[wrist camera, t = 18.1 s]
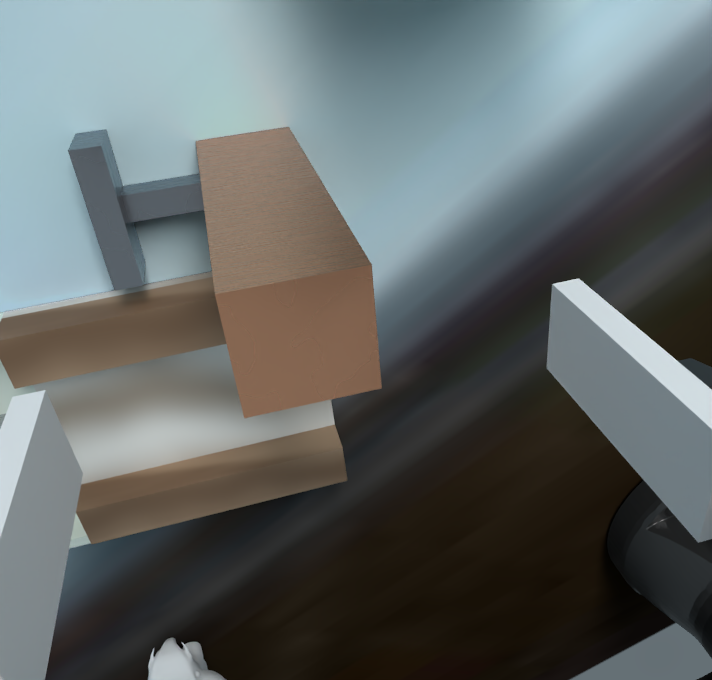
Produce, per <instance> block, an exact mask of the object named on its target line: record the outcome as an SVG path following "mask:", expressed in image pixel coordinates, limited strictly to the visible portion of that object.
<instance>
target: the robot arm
mask: <svg viewBox="0 0 712 680" xmlns="http://www.w3.org/2000/svg"><path fill="white" fill-rule="evenodd" d="M547 369H548V370H549V371H550V372H551V374H552V375H553V376H554V377H555V378H556V379H557V380H558V382H559V383H560V384H561V385H562V386H563V387H564V389H565V390H566V391H567V392H568V393H569V394H570V395H571V397H572V398H573V399H574V400H575V401H576V402H577V404H578V405H579V406H580V407H581V408H582V409H583V410H584V412H585V413H586V414H587V415H588V416H589V417H590V419H591V420H592V421H593V422H594V423H595V424H596V425H597V427H598V428H599V429H600V430H601V431H602V432H603V434H604V435H605V436H606V437H607V438H608V439H609V440H610V442H611V443H612V444H613V445H614V446H615V447H616V448H617V450H618V451H619V452H620V453H621V454H622V455H623V457H624V458H625V459H626V460H627V461H628V462H629V463H630V465H631V466H632V467H633V468H634V469H635V470H636V472H637V473H638V474H639V475H640V476H641V477H642V478H643V481H642V482H641V483H640V484H639V485H638V486H637V487H636V488H635V489H634V490H633V491H632V493H631V494H630V495H629V496H628V497H627V499H626V500H625V501H624V503H623V504H622V505H621V507H620V508H619V510H618V512H617V513H616V515H615V517H614V519H613V521H612V524H611V526H610V530H609V533H608V539H607V548H608V554H609V556H610V559H611V561H612V562H613V564H614V565H615V566H616V568H617V569H618V571H619V572H620V573H621V575H622V576H623V578H624V579H625V581H626V582H627V583H628V584H629V585H630V586H631V587H632V588H633V589H634V590H635V591H636V592H638V593H639V594H640V595H643V596H644V597H645V598H646V599H647V600H648V601H650V602H651V603H652V604H653V605H655V606H656V607H657V608H658V609H660V610H661V611H662V612H663V613H665V614H666V615H667V616H668V617H670V618H671V619H672V620H674V621H675V622H676V623H677V624H679V625H680V626H681V627H683V628H684V629H685V630H687V631H688V632H689V633H691V634H692V635H693V636H694V637H695V638H696V639H697V640H698V641H699V642H700V643H701V644H702V646H703V647H704V648H705V650H706V651H707V652H708V654H709V655H710V657H711V658H712V367H710V366H707V365H705V364H703V363H701V362H698V361H696V360H694V359H691V358H689V359H685V360H681V361H677V360H676V359H674V358H673V357H672V356H671V355H670V354H668V353H667V352H666V351H665V350H664V349H662V348H661V347H660V346H659V345H658V344H656V343H655V342H654V341H653V340H652V339H650V338H649V337H648V336H647V335H646V334H644V333H643V332H642V331H641V330H640V329H638V328H637V327H636V326H635V325H634V324H632V323H631V322H630V321H629V320H628V319H626V318H625V317H624V316H623V315H622V314H620V313H619V312H618V311H617V310H616V309H615V308H613V307H612V306H611V305H610V304H609V303H607V302H606V301H605V300H604V299H603V298H601V297H600V296H599V295H598V294H597V293H595V292H594V291H593V290H592V289H591V288H589V287H588V286H587V285H586V284H585V283H583V282H582V281H581V280H580V279H574V280H569V281H565V282H560V283H555V284H552V296H551V311H550V325H549V340H548V355H547ZM82 477H83V472H82V470H81V468H80V466H79V463H78V461H77V459H76V457H75V454H74V452H73V450H72V448H71V446H70V443H69V441H68V439H67V437H66V434H65V432H64V430H63V428H62V426H61V423H60V421H59V419H58V417H57V414H56V412H55V410H54V408H53V406H52V403H51V401H50V399H49V397H48V394H47V392H46V390H43V391H38V392H34V393H29V394H24V395H19V396H14V397H12V399H11V402H10V404H9V407H8V410H7V412H6V415H5V418H4V421H3V423H2V426H1V429H0V680H45V676H46V671H47V665H48V660H49V654H50V649H51V644H52V638H53V633H54V628H55V622H56V617H57V611H58V606H59V601H60V595H61V590H62V584H63V579H64V574H65V568H66V563H67V558H68V552H69V547H70V541H71V536H72V531H73V525H74V520H75V514H76V509H77V504H78V498H79V493H80V488H81V482H82ZM697 680H712V672H711V673H709V674H707V675H705V676H704V677H702V678H699V679H697Z"/></svg>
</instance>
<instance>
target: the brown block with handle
mask: <svg viewBox="0 0 712 680" xmlns="http://www.w3.org/2000/svg"><path fill="white" fill-rule="evenodd" d="M196 148H197V156H198V164H199V172H200V174H195V175H189V176H183V177H177V178H170V179H164V180H158V181H152V182H146V183H139V184H133V185H127V186H123V185H122V181H121V178H120V175H119V171H118V168H117V164H116V161H115V158H114V154H113V151H112V148H111V144H110V141H109V137H108V134H107V131H106V130H99V131H92V132H85V133H79V134H75V137H74V139H73V141H72V143H71V145H70V148H69V150H68V152H69V155H70V158H71V161H72V164H73V167H74V170H75V173H76V176H77V179H78V182H79V185H80V188H81V191H82V194H83V197H84V200H85V203H86V206H87V209H88V212H89V215H90V218H91V221H92V224H93V227H94V230H95V233H96V236H97V239H98V242H99V245H100V248H101V251H102V254H103V257H104V260H105V263H106V266H107V269H108V272H109V275H110V278H111V281H112V284H113V287H114V290H115V291H116V290H121V289H127V288H132V287H138V286H143V285H144V271H145V259H144V256H143V253H142V249H141V246H140V242H139V239H138V236H137V232H136V229H135V225H134V222H137V221H143V220H148V219H154V218H160V217H166V216H172V215H178V214H184V213H190V212H196V211H202V210H204V212H205V220H206V227H207V235H208V243H209V251H210V259H211V267H212V275H213V283H214V291H215V297H216V301H217V306H218V310H219V314H220V318H221V322H222V327H223V331H224V335H225V339H226V344H227V348H228V352H229V356H230V361H231V365H232V369H233V373H234V377H235V382H236V386H237V390H238V394H239V399H240V403H241V407H242V411H243V416H244V418H249V417H253V416H258V415H262V414H267V413H271V412H276V411H280V410H285V409H290V408H294V407H299V406H303V405H308V404H312V403H317V402H321V401H326V400H330V399H335V398H340V397H344V396H349V395H353V394H358V393H362V392H367V391H371V390H376V389H380V388H382V387H381V375H380V362H379V350H378V338H377V325H376V313H375V300H374V288H373V276H372V265H371V263H370V261H369V260H368V258H367V256H366V255H365V253H364V251H363V250H362V248H361V246H360V245H359V243H358V241H357V240H356V238H355V236H354V235H353V233H352V231H351V230H350V228H349V226H348V225H347V223H346V221H345V220H344V218H343V216H342V215H341V213H340V211H339V210H338V208H337V206H336V205H335V203H334V201H333V200H332V198H331V196H330V195H329V193H328V191H327V190H326V188H325V186H324V185H323V183H322V181H321V180H320V178H319V176H318V175H317V173H316V171H315V170H314V168H313V166H312V165H311V163H310V161H309V160H308V158H307V156H306V155H305V153H304V151H303V150H302V148H301V147H300V145H299V143H298V142H297V140H296V138H295V137H294V135H293V133H292V132H291V130H290V128H289V127H285V128H278V129H272V130H265V131H259V132H252V133H246V134H239V135H233V136H226V137H219V138H213V139H206V140H200V141H196Z"/></svg>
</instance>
